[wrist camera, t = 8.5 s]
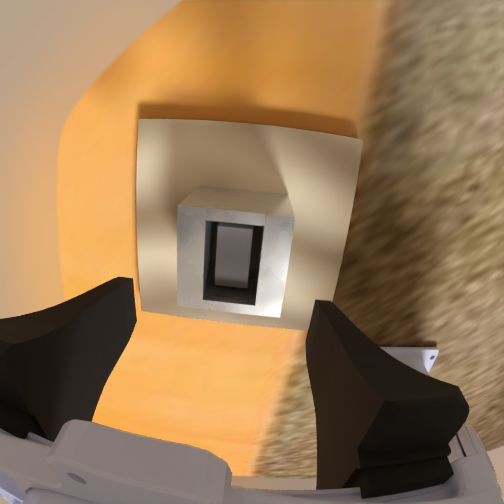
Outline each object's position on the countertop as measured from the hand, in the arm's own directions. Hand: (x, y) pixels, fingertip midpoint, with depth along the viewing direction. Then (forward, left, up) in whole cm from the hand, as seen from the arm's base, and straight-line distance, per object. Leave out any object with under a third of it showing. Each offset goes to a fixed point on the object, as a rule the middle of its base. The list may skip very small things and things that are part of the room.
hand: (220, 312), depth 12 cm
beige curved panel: (0, 0, -10) cm, 10 cm away
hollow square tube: (0, 0, -9) cm, 9 cm away
